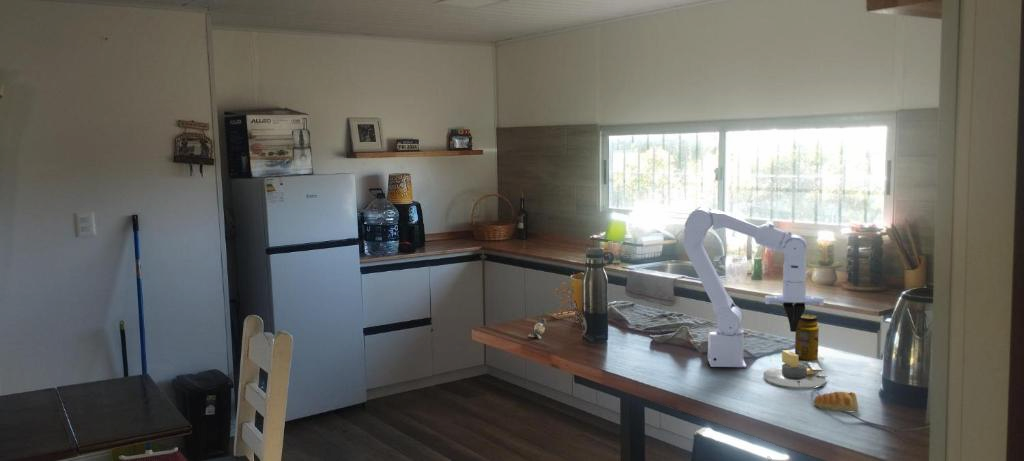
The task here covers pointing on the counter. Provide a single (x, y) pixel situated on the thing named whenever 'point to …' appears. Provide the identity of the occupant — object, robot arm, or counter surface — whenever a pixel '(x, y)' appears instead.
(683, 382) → the counter surface
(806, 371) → the multicoloured piece
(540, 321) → the grey cream animal figurine
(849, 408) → the pastry
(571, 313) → the gingerbread man figurine
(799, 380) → the post plate
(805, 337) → the condiment
